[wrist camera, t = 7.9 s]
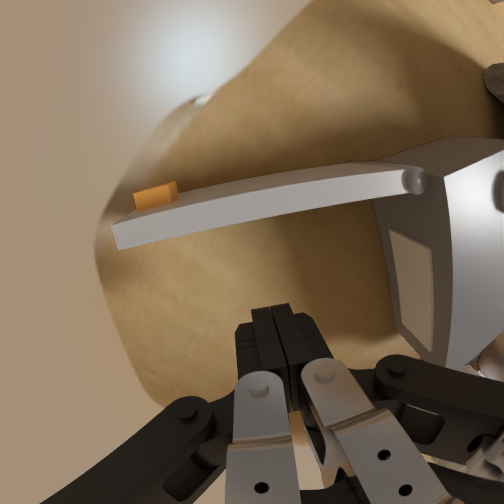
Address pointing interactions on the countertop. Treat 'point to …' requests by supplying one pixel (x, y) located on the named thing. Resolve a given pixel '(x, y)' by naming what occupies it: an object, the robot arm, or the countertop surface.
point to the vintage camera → (495, 80)
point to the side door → (259, 199)
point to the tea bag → (496, 1)
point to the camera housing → (447, 249)
